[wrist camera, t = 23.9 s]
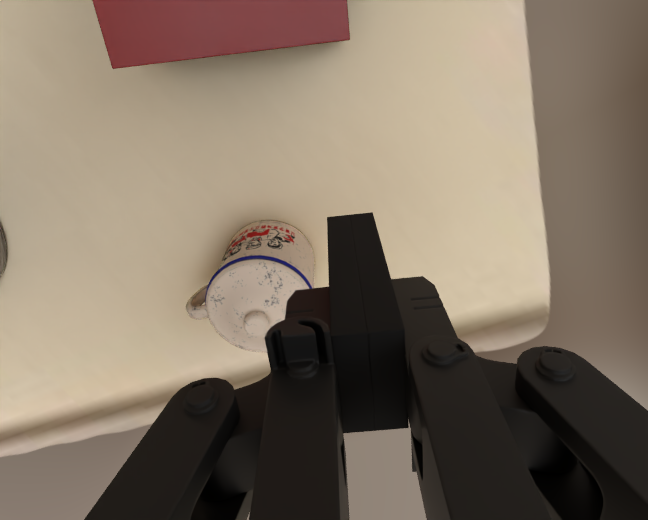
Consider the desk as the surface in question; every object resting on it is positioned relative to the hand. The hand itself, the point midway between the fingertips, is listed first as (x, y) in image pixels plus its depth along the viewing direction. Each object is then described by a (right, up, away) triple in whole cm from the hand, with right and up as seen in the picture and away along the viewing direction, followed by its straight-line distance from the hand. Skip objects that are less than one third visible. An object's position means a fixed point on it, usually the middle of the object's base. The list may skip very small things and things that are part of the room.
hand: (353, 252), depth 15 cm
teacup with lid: (-8, -1, +30) cm, 31 cm away
